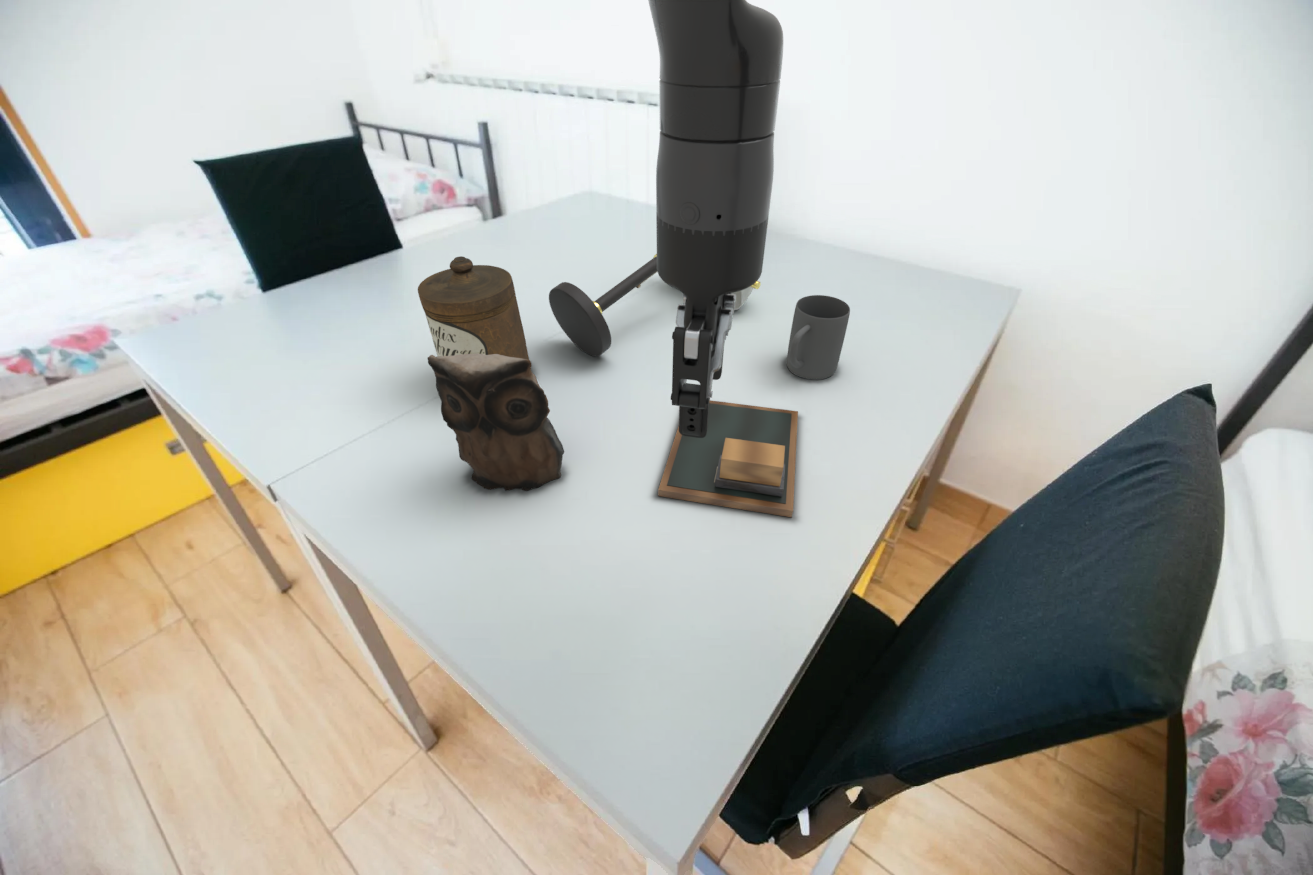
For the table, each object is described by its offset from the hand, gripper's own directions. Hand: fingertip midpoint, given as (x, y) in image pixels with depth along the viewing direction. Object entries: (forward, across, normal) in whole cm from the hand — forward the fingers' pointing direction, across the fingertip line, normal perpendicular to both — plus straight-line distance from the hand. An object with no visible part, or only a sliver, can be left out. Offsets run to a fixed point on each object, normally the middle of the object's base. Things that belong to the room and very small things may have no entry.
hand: (701, 403), depth 46 cm
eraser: (+25, +18, -5) cm, 31 cm away
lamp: (+26, +62, +19) cm, 70 cm away
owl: (+26, +15, +28) cm, 41 cm away
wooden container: (+26, +35, +43) cm, 61 cm away
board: (+26, +24, -2) cm, 36 cm away
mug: (+26, +49, -12) cm, 57 cm away
